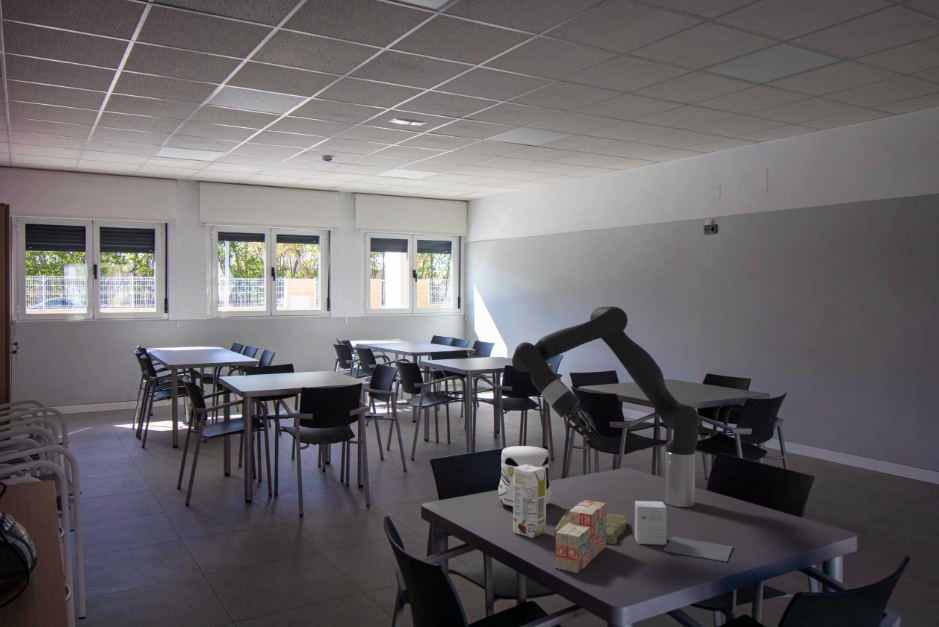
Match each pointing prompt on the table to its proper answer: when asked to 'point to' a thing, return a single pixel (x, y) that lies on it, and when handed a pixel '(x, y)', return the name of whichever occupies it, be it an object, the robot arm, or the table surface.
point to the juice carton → (529, 500)
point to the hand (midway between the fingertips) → (599, 442)
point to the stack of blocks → (581, 536)
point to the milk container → (517, 458)
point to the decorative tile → (613, 526)
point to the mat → (698, 549)
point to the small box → (650, 522)
